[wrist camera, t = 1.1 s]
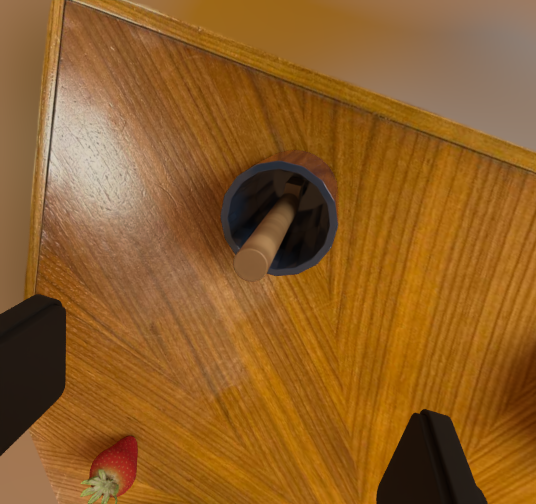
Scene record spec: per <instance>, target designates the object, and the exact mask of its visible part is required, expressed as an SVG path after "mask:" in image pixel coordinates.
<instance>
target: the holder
mask: <svg viewBox="0 0 536 504" xmlns="http://www.w3.org/2000/svg"><path fill="white" fill-rule="evenodd" d="M291 177H294V178H298V179H302V180H305V182H304V185H303V189H302V193H301V197H300V201H299V207H298V209H297V213H296V215H295V217H294V220H293V222H292V223H291V224H290V226H289V228H288V230H287V232H286V234H285V236H284V238H283V240H282V243H281V245H280V247H279V249H278V251H277V253H276V255H275V257H274V259H273V261H272V263H271V265H270V267H269V270H268V272H267V274H270V275H274V276H282V275H294V274H299V273H301V272H303V271H305V270H307V269H309V268H311V267H313V266H315V265H316V264H318V263H319V262H320V260H321V259H322V258H323V257H324V256H325V254H326V253H327V252H328V251H329V250H330V249H331V247H332V244H333V241H334V238H335V234H336V231H337V228H338V207H339V196H338V187H337V181H336V179H335V176H334V174H333V172H332V171H331V169H330V168H329V166H328V165H327V164H326V163H325V162H324V161H323V160H322V159H320V158H319V157H317V156H316V155H314V154H311V153H309V152H306V151H300V150H289V151H284V152H279V153H276V154H274V155H273V156H271V157H269V158H267V159H265V160H263V161H261V162H259V163H257V164H255V165H254V166H252V167H251V168H249V169H248V170H246V171H245V172H243V173H241V174H240V175H238V176H237V177H236V178H235V180H234V181H233V183H232V184H231V186H230V187H229V189H228V190H227V192H226V194H225V196H224V199H223V205H222V211H221V223H222V227H223V232H224V237H225V240H226V241H227V243H228V244H229V246H230V247H231V249H232V250H233V252H234V253H235V255H236V254H237V252H238V251H239V250H240V249H241V247H242V246H243V245H244V243H245V242H246V241H247V240H248V238H249V237H250V236H251V234H252V233H253V232H254V231H255V229H256V228H257V227H258V225H259V224H260V223H261V222H262V220H263V219H264V218H265V216H266V215H267V214H268V213H269V211H270V210H271V209H272V207H273V206H274V205H275V204H276V202H277V201H278V200H279V198H280V197H281V196H282V195H283V193H284V189H285V184H286V182H287V181H288V180H289V179H290V178H291Z"/></svg>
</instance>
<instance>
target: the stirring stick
mask: <svg viewBox="0 0 536 504" xmlns="http://www.w3.org/2000/svg"><path fill="white" fill-rule="evenodd" d="M304 182H305V180H302V179H298V178H294V177H291V178H290V179H289V180H288V181H287V182H286V184H285V189H284V193H283V195H282V196H281V197H280V198H279V200H278V201H277V202H276V204H275V205H274V206H273V207H272V209H271V210H270V211H269V213H268V214H267V215H266V216H265V218H264V219H263V220H262V222H261V223H260V224H259V225H258V227H257V228H256V229H255V231H254V232H253V233H252V234H251V236H250V237H249V238H248V240H247V241H246V242H245V243H244V245H243V246H242V247H241V249H240V250H239V251H238V252H237V254H236V255H235V257H234V260H233V266H234V270H235V272H236V273H237V275H238V276H239V277H240V278H242V279H244V280H246V281H251V282H252V281H258V280H260V279H262V278H263V277H264V276H265V275H266V274H267V272H268V270H269V267H270V265H271V263H272V261H273V259H274V257H275V255H276V253H277V251H278V249H279V247H280V245H281V243H282V240H283V238H284V236H285V234H286V232H287V230H288V228H289V226H290V224H291V223H292V222H293V220H294V217H295V215H296V213H297V209H298V207H299V201H300V197H301V193H302V189H303V185H304Z"/></svg>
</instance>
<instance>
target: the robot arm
mask: <svg viewBox="0 0 536 504" xmlns="http://www.w3.org/2000/svg"><path fill="white" fill-rule="evenodd" d="M65 374H66V310H65V308H64V307H62V303H61V302H60V301H59V300H57V299H54V298H50V297H47V296H44V295H40V294H36V295H34V296H32V297H30V298H28V299H26V300H25V301H23V302H21V303H19V304H18V305H16V306H14V307H13V308H11V309H9V310H7V311H5V312H4V313H2V314H0V456H1V455H2V454H3V453H4V452H5V451H6V450H7V449H8V448H9V447H10V446H11V445H12V444H13V443H14V442H15V441H16V440H17V439H18V438H19V437H20V436H21V435H22V434H23V433H24V432H25V431H26V430H27V429H28V428H29V427H30V426H31V425H32V424H33V423H34V422H35V421H36V420H38V419H39V418H40V417H41V416H42V415H43V414H44V413H45V412H46V411H47V410H48V409H49V408H50V407H51V406H52V405H53V404H54V403H55V402H56V401H57V400H58V399H59V397H60V396H61V395H62V393H63V391H64V388H65ZM376 501H377V504H488V503H487V501H486V498H485V497H484V495H483V493H482V491H481V490H480V489H479V488H478V487H477V486H476V483H475V481H474V478H473V476H472V473H471V470H470V468H469V465H468V462H467V460H466V457H465V455H464V452H463V449H462V447H461V444H460V441H459V439H458V436H457V433H456V431H455V428H454V426H453V423H452V421H451V419H450V417H448V416H446V415H443V414H440V413H436V412H433V411H429V410H426V409H423V410H422V411H421V412H420V414H418V413H414V414H413V415H412V416H411V418H410V420H409V422H408V425H407V427H406V429H405V431H404V433H403V435H402V437H401V439H400V441H399V444H398V446H397V448H396V450H395V452H394V454H393V456H392V458H391V461H390V463H389V465H388V467H387V469H386V471H385V473H384V475H383V477H382V480H381V482H380V484H379V486H378V490H377V498H376Z"/></svg>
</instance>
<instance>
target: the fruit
mask: <svg viewBox="0 0 536 504" xmlns="http://www.w3.org/2000/svg"><path fill="white" fill-rule="evenodd" d="M137 455H138V449H137V442H136V439H135V438H134V437H133V436H128V437H125V438H123V439H121V440H120V441H118V442H117V443H116V444H115V445H113V446H112V447H110V448H108V449H107V450H105V451H103V452H102V453H100V454H99V455H98V456H97V457H96V459H95V460H94V461H93V463H92V466H91V469H90V478H89V479H88V480H84V481H83V482H82V483H81V484H89V485H91V486H92V488H87V489H86V490H84V491H83V492H82V494H81V496H80V497H82V496H87V495H91V494H93V493H95V492H96V493H95V494H94V495H93V496H92V497H91V498H90V500H89V501H88V504H92V503H94V502H95V501H96V500H97V499H99V498H100V496H101V495H103V498H102V503H101V504H107V502H108V500H109V497H114V498H115V500H116V502H115V504H117V497H118V496H120V495H122V494H124V493H125V492H126V491H127V490H128V489H129V488H130V487H131V486H132V484H133V482H134V480H135V478H136V470H137Z"/></svg>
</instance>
